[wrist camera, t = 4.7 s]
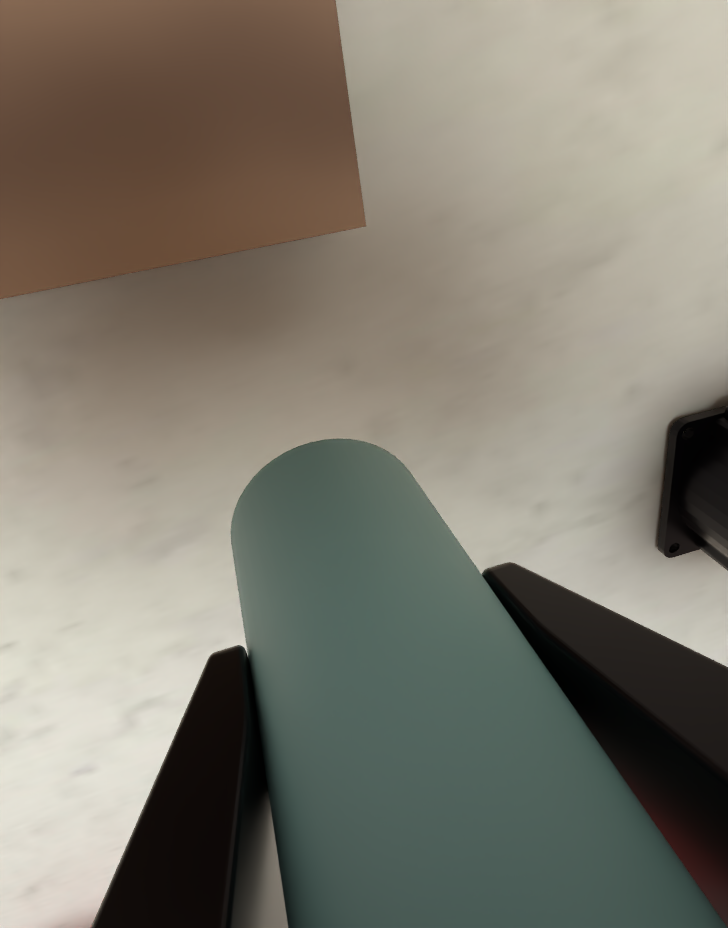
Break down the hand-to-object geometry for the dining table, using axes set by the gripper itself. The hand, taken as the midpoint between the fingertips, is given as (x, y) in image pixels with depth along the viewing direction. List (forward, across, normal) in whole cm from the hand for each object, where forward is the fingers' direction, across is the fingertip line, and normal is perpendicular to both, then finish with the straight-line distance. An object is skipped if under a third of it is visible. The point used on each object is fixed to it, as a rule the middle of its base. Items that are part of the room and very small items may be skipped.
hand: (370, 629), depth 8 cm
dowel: (+2, 0, 0) cm, 2 cm away
